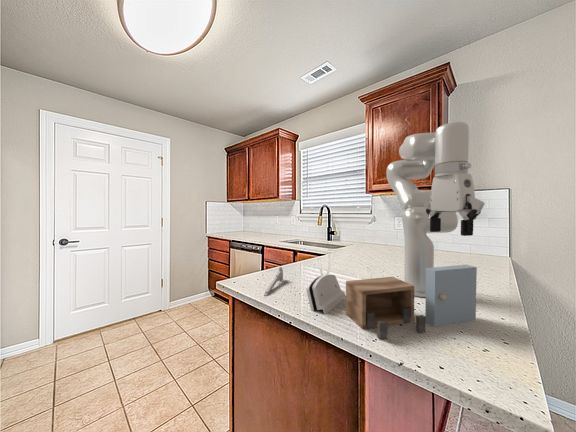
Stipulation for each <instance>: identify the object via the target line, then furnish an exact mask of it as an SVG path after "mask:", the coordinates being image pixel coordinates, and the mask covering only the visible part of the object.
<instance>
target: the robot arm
mask: <svg viewBox="0 0 576 432" xmlns="http://www.w3.org/2000/svg"><path fill="white" fill-rule="evenodd" d="M469 131H470V130H469V125H468V124H467V123H466V122H462V121H455V122H448V123H444V124H442V125H440V126H439V127H437V128H436V129H435V132H422V133H421V132H420V133H413V134H410V135H407V136H406V137H405V139H404V140H403V142H402V144H401V146H400V147H399V150H398V154H399V157H400V158H401V159H400V160H395V161H392V162H390V163H389V164H388V165H387V167H386V180H387V183H388V185H389V187H390V189H391V190H392V191H393V192H394V193H395V195H396V197H397V200H398V202H399V203H398V204H399V206H400V207H401V210H402V211H403V213H402V216H401V223H402V227H403V228H402V229H403V235H404V236H403V237H404V272H403V273H404V274H403V276H404V277H403V278H404V279H403V281H404V282H406V283H409V284H411V285H413V286H414V297H419V298H426V268H433V267H435V266H434V261H435V258H434V256H435V246H434V242H433V241H432V240H431V238H430V237H429V236H428V235H427V234H432V233H433V234H438V233H439V234H441V233H442V234H443V233H444V234H446V233H451V232H454V231H455V230H456V229H457V228H458V223H459V218H458V215H457V213H458V214H459V215H460V216H461V218H462V219H461V220H460V236H464V237H465V236H466V237H468V236H470V237H471V236H473V235H474V220H477V217H478V216H479V215H480V214H482V213H481V211H482V210H483V208H484V206H485V202H484V200H483V201H482V200H481V199H478V198H476V194H475V185H474V181H473V176H472V173H469V169H471V167H472V164H471V163H470V162H469V140H470V139H469V138H470V137H469V136H470V135H469V134H470V132H469ZM433 169H434V177H433V179H432V184H431V189H430V190H428V189H427V190H421V189H418V186H417V184H415V183H414V181H411V180H423V179H426V178H427V177H429V176H430V174H431V173H432V170H433Z"/></svg>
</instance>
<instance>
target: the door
mask: <svg viewBox="0 0 576 432" xmlns="http://www.w3.org/2000/svg"><path fill="white" fill-rule="evenodd" d="M477 269H478V268H477V266H474V265H468V264H457V265H447V266H445V265H444V266H436V267H435V266H434V267H433V268H426V297H425V313H424V314H425V315H424V316H425V317H426V323H427V324H428V325H430V326H432V327H434V328H436V327H442V326H443V327H444V326H448V325H455V324H460V323H469V322H473V321H477V318H476V315H477V312H476V311H477V278H478V277H477V273H478V271H477Z"/></svg>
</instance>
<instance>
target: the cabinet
mask: <svg viewBox="0 0 576 432" xmlns="http://www.w3.org/2000/svg"><path fill="white" fill-rule="evenodd" d="M345 295H346V298H345V315H346V316H347V317H348V318H350V320H351V321H353V322H354V323H355V324H356V325H357V326H358V327H360V329H362V330H365V329H366V330H369V329H374V328H377V329H376V330H377V331H376V332H377V333H376V335H377V336H376V338H377V339H379V340H386V339H388V326H393V325H401V324H409V323H414V322H415V332H417V333H418V334H421V333H426V323H427V322H426V317H425V315H424V314H418V315H415V296H414V286H413V285H411V284H409V283H406V282H404V280H402V279H399V278H397V277H394V276H386V277H375V278H365V279H364V278H363V279H354V280H353V279H351V280H346V281H345Z"/></svg>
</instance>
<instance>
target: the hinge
mask: <svg viewBox="0 0 576 432" xmlns="http://www.w3.org/2000/svg"><path fill="white" fill-rule="evenodd" d="M306 295H307V299H308V302H309V308H310V311H312V312H313V311H315V310H316V311H321V310H322V312H323V314H324V315H326V314H328V313H330V312H331V311H332V309H334V308H335V307H336V306H337V304H338V305H339V304H340V303H341V302H342V301H344V300H345V299H346V291H344V290H342V289H341V286H340V284H339V282H338V279H337V276H336V275H334V274H324V275H319V276H318V277H315V278H314V279H313V280H311V281H310V282H309V283H308V285H307V286H306ZM344 298H345V299H344ZM343 299H344V300H343Z"/></svg>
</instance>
